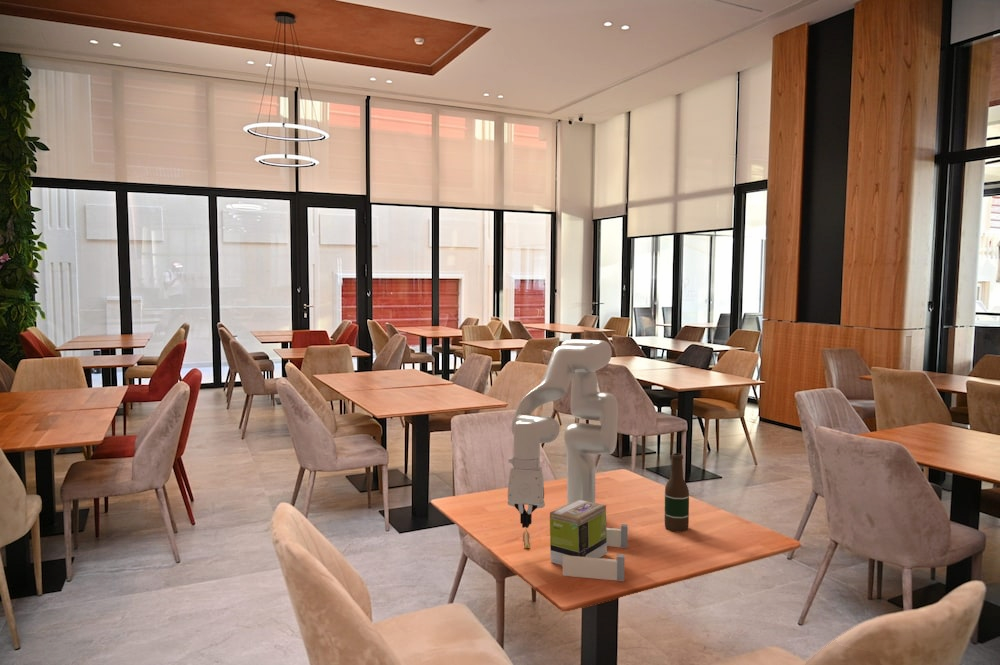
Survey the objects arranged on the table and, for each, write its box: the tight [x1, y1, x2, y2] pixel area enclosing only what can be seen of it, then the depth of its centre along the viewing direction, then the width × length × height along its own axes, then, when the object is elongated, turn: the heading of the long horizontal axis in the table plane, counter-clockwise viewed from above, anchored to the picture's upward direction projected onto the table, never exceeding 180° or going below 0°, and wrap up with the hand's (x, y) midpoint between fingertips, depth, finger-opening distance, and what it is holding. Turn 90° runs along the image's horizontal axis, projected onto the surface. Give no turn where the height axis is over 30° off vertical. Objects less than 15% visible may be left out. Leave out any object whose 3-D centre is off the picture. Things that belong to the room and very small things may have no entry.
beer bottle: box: [664, 453, 690, 533], centre depth 214 cm, size 8×8×24 cm
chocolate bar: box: [522, 528, 531, 549], centre depth 204 cm, size 3×12×2 cm, turn 179°
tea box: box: [549, 499, 608, 567], centre depth 190 cm, size 15×10×15 cm, turn 141°
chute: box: [562, 523, 629, 582], centre depth 189 cm, size 25×16×6 cm, turn 167°
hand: (525, 526), depth 193 cm, fingers closed
